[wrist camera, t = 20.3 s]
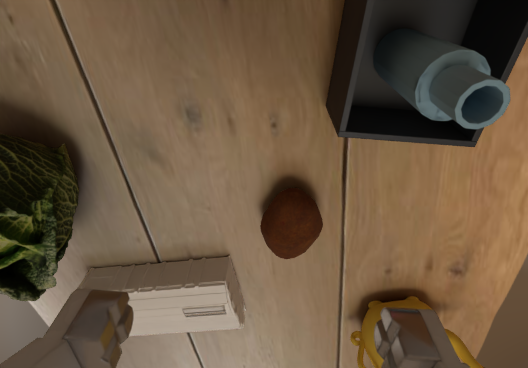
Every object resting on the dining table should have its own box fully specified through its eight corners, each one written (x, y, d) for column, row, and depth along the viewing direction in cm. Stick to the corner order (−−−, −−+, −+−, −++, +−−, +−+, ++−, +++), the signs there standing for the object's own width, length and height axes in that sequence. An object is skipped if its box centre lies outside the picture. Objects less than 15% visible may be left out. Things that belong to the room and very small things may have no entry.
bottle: (380, 26, 32) (458, 58, 18) (431, 30, 32) (546, 65, 18) (367, 78, 35) (426, 139, 21) (414, 82, 35) (502, 145, 21)
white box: (122, 319, 61) (106, 354, 55) (88, 267, 53) (65, 302, 48) (248, 309, 58) (245, 346, 53) (231, 253, 51) (225, 289, 45)
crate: (350, -28, 30) (374, -31, 23) (486, -16, 30) (553, -16, 23) (325, 106, 37) (337, 136, 30) (435, 115, 37) (474, 147, 30)
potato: (322, 176, 42) (330, 210, 36) (317, 236, 48) (324, 274, 42) (259, 177, 43) (257, 211, 36) (262, 236, 48) (260, 274, 42)
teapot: (342, 295, 55) (359, 370, 45) (463, 281, 53) (511, 357, 42) (349, 339, 63) (364, 412, 52) (455, 328, 60) (494, 404, 49)
